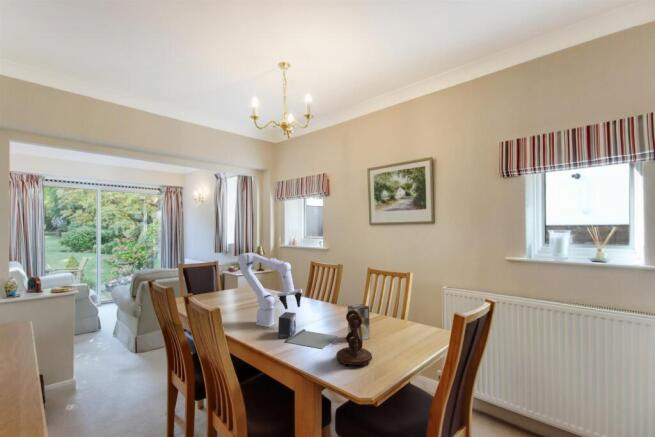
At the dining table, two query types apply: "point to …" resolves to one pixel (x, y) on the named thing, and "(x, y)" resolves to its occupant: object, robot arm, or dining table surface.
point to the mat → (311, 339)
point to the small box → (287, 325)
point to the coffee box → (364, 315)
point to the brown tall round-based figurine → (354, 343)
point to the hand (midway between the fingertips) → (292, 307)
